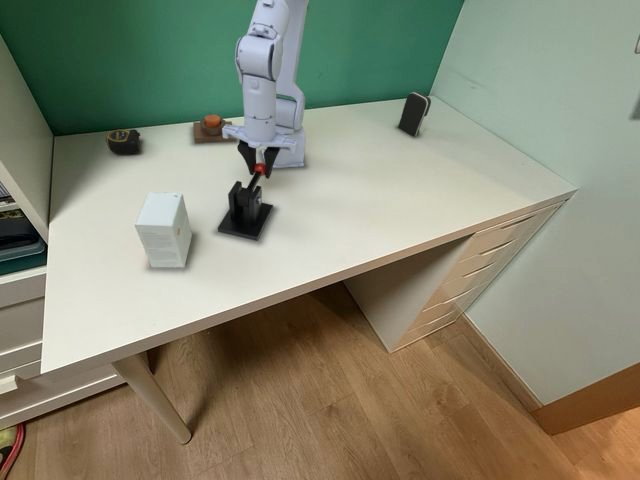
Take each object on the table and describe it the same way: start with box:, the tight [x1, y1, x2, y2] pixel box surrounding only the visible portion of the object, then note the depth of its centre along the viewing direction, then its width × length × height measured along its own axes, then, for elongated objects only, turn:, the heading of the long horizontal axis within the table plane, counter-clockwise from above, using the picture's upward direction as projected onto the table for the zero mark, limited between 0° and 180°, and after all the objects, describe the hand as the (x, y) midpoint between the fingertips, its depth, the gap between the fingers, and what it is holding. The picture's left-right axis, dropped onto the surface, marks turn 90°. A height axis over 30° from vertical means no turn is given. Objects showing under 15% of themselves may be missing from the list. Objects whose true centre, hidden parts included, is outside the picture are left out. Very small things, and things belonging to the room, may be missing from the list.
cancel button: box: [204, 114, 221, 127], centre depth 84 cm, size 4×4×2 cm
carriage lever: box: [237, 161, 265, 208], centre depth 65 cm, size 12×3×3 cm, turn 168°
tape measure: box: [105, 129, 141, 155], centre depth 77 cm, size 7×7×4 cm
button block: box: [192, 117, 236, 145], centre depth 86 cm, size 10×8×4 cm
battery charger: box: [397, 91, 432, 137], centre depth 98 cm, size 7×4×11 cm, turn 41°
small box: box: [134, 191, 193, 268], centre depth 55 cm, size 8×6×10 cm
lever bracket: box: [217, 180, 274, 242], centre depth 64 cm, size 10×8×8 cm
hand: (260, 174), depth 69 cm, fingers closed on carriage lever, 3 cm apart
